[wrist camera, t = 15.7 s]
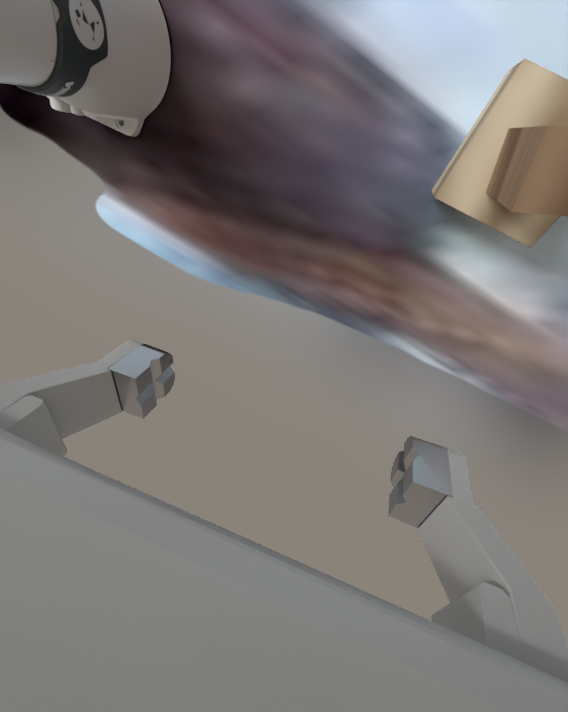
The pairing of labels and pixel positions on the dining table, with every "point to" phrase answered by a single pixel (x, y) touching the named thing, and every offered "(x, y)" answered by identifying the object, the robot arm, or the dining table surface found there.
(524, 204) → the walnut pillar
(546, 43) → the dining table surface
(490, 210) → the beech block
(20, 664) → the robot arm
